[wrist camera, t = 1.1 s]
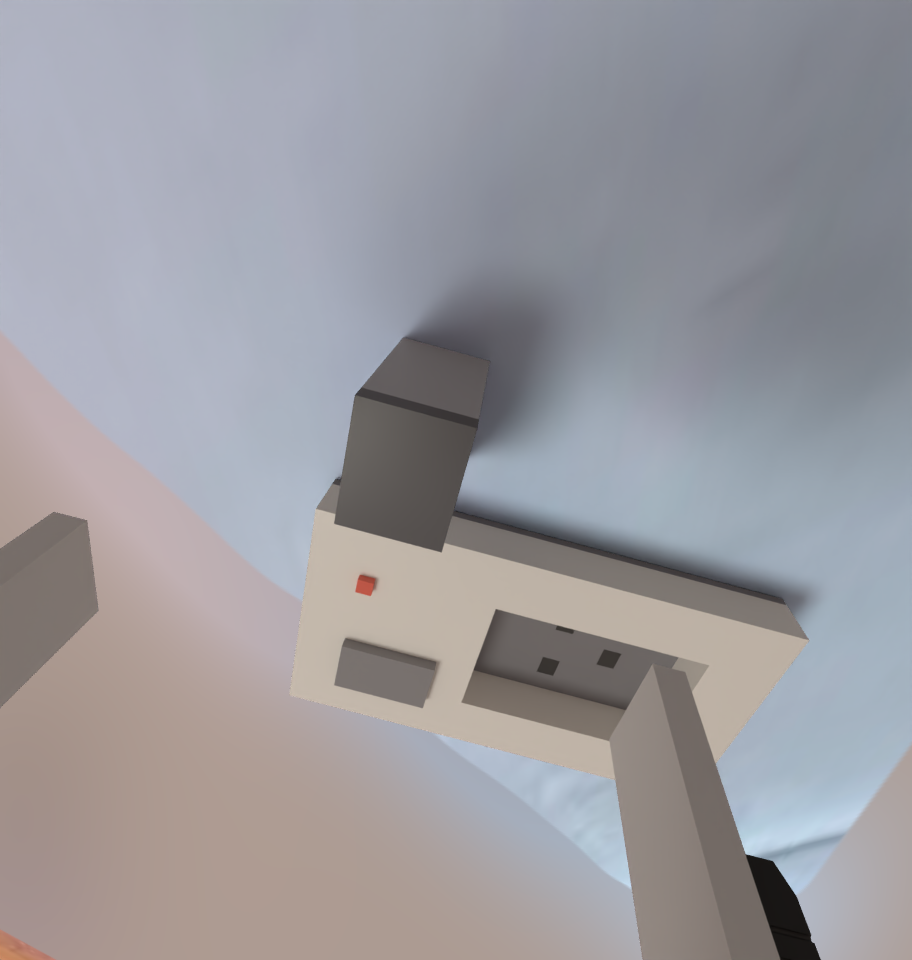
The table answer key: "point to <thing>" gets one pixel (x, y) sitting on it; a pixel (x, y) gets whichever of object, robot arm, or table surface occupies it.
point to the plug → (411, 444)
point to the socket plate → (525, 638)
